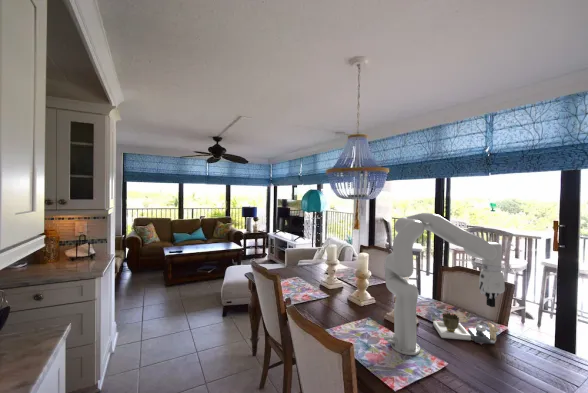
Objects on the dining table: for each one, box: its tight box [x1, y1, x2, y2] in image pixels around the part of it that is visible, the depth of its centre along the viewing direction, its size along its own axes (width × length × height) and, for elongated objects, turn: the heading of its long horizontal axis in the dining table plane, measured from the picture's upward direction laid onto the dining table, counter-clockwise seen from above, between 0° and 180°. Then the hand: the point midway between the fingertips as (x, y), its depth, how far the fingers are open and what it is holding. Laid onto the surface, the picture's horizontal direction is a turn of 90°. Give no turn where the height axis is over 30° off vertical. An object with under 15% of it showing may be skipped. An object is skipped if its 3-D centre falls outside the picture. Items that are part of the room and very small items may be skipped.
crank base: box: [467, 327, 495, 345], centre depth 130 cm, size 8×8×3 cm
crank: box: [475, 322, 499, 344], centre depth 125 cm, size 15×4×8 cm, turn 171°
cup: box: [442, 312, 460, 332], centre depth 137 cm, size 8×7×8 cm
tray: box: [432, 320, 472, 341], centre depth 137 cm, size 13×13×2 cm
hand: (490, 305), depth 128 cm, fingers closed
